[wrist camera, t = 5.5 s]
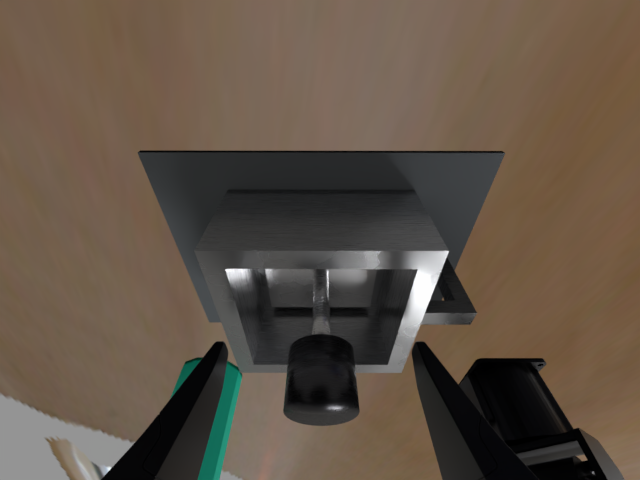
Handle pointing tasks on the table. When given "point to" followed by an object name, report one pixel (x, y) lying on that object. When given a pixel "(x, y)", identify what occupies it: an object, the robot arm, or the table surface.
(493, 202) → the table surface
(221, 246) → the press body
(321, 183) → the slate mat
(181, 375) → the candle
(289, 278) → the plunger
